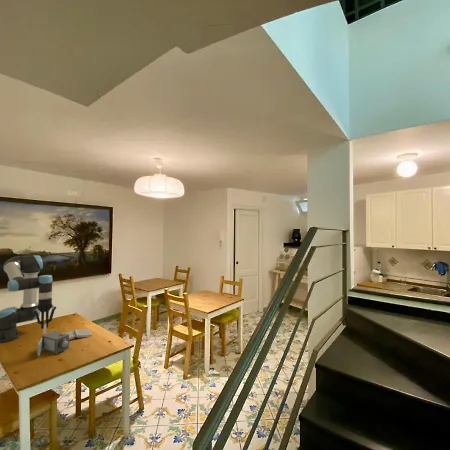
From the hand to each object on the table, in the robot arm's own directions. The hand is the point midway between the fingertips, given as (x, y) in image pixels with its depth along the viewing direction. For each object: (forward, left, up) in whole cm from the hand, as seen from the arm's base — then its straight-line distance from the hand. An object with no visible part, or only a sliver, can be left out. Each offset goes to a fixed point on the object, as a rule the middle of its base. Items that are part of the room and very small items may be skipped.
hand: (44, 333), depth 169 cm
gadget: (-10, +29, -16) cm, 34 cm away
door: (-4, 0, -14) cm, 14 cm away
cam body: (0, +9, -15) cm, 17 cm away
